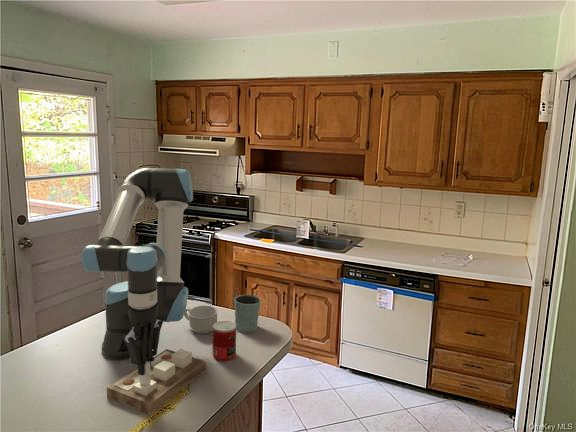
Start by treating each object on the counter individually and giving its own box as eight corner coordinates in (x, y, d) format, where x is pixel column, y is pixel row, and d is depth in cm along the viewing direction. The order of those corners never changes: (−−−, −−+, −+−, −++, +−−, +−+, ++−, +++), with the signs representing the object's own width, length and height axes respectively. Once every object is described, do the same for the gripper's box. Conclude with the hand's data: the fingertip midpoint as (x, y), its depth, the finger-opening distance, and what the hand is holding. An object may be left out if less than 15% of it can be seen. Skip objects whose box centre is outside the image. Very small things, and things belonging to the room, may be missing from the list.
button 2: (171, 367, 134) (171, 355, 133) (180, 361, 138) (180, 348, 137) (182, 371, 132) (182, 358, 131) (191, 365, 136) (191, 352, 135)
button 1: (133, 399, 120) (133, 385, 119) (145, 391, 124) (144, 377, 123) (145, 404, 118) (145, 389, 118) (156, 395, 122) (156, 381, 121)
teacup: (223, 329, 166) (223, 309, 164) (203, 339, 157) (203, 319, 155) (196, 319, 173) (197, 301, 172) (176, 329, 164) (176, 309, 163)
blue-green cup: (229, 325, 169) (229, 297, 167) (251, 320, 175) (252, 292, 172) (241, 336, 161) (242, 306, 158) (264, 330, 167) (265, 301, 164)
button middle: (153, 380, 127) (153, 367, 126) (163, 373, 131) (163, 360, 130) (165, 384, 125) (165, 371, 124) (175, 377, 129) (175, 364, 128)
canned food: (231, 362, 142) (232, 332, 140) (208, 359, 144) (209, 328, 141) (238, 351, 149) (239, 322, 147) (217, 348, 151) (217, 319, 149)
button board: (107, 396, 121) (106, 386, 121) (166, 357, 144) (166, 348, 143) (150, 414, 115) (150, 403, 114) (205, 369, 137) (205, 360, 136)
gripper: (135, 315, 108) (138, 399, 113) (170, 299, 120) (171, 375, 125) (114, 309, 112) (117, 391, 116) (149, 293, 123) (151, 368, 128)
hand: (145, 382), depth 120 cm, fingers closed
